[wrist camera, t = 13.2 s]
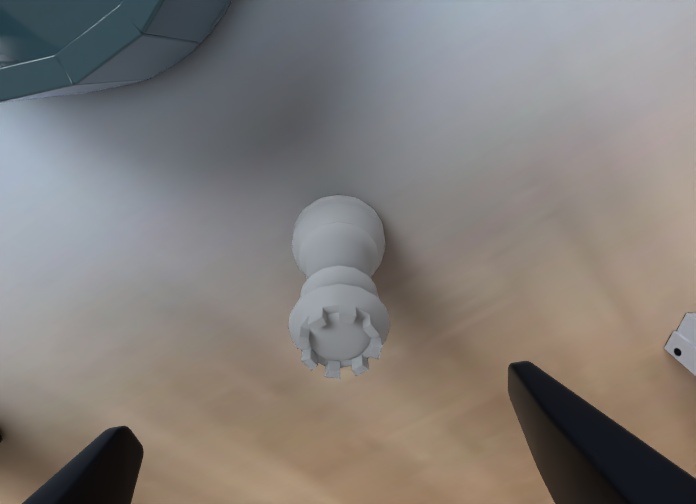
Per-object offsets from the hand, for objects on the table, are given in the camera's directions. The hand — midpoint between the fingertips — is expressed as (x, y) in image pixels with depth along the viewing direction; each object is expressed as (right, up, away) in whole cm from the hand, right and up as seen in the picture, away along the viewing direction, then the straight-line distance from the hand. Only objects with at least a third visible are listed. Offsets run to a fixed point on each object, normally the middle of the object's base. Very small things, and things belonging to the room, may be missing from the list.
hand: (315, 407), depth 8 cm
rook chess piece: (0, +5, +10) cm, 11 cm away
